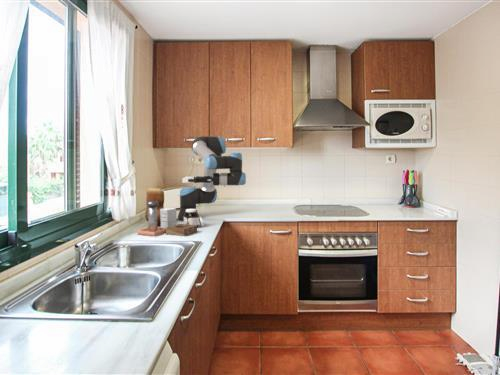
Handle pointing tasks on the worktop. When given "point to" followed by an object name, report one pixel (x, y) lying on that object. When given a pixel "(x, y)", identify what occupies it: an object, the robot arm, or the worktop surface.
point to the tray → (148, 233)
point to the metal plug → (152, 215)
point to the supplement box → (168, 217)
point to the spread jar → (192, 218)
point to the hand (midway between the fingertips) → (183, 179)
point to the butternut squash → (155, 195)
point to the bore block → (181, 229)
